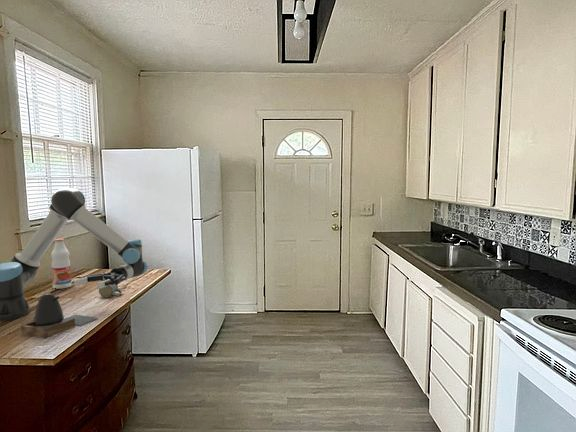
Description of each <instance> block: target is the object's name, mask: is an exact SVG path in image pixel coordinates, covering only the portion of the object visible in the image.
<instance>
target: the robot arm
mask: <svg viewBox="0 0 576 432" xmlns="http://www.w3.org/2000/svg"><path fill="white" fill-rule="evenodd" d="M50 200H51V204H50V205H49V211H50V212H49V213H48V214H47V216H46V217H45V218H44V220H43V221H42V223H41V224H40V225H39V227H38V228H37V230H36V231H35V232H34V233H33V235H32V237H31V238H30V239H29V241H28V242H27V243H26V246H25V247H24V248H23V249H22V251H21V252H17V253H15V255H14V256H13V258H12V259H10V261H8V262H2V263H0V322H5V321H6V320H7V321H12V320H16V319H20V318H23V317H25V316H27V315H29V314H30V306H29V303H28V302H27V300H26V298H25V294H24V293H25V292H24V285H26V284H27V283H29V282H30V281H32V280H33V279H34V278H35V276H36V274H37V271H38V270H39V268H40V266H41V262H40V261H41V259H42V258H43V257H44V255H45V253H46V252H47V250H48V249H49V248H50V246H51V245H52V244H53V242H55V239H57V236H58V235H60V232H61V231H62V229H63V228H64V227H65V225H66V223H68V221H74V222H75V223H77V224H78V225H79V226H80V227H82V228H83V229H84V230H86V231H87V232H88V233H90V234H91V235H92V236H93V237H94V238H96V239H97V240H99V241H100V242H102V244H104V245H105V246H107V247H108V248H109V249H111V250H112V251H113V252H114V253H116V254H117V255H118V256H120V257H121V258H122V261H123V262H125V264H124V265H119V266H115V267H113V268H112V269H111V270H110V272H106V273H105V272H104V271H103V272H99V273H94V274H88V275H84V276H82V277H81V278H78V279H75V280H73V283H74V287H78V286H81V285H87V284H88V283H90V282H97V283H96V284H97V290H99V289H100V288H103V287H106V286H109V285H114V284H115V285H119V284H121V283H122V282H124V281H126V282H127V281H128V280H130V279H132V278H137V277H140V276H142V275H143V274H145V273H146V272H147V271H148V264H147V262H146V261H145V260H143V244H142V240H141V239H140V238H139V239H138V238H136V239H128V240H127V239H125V238H124V237H123V236H121V235H120V234H119V233H118V232H117V231H115V230H114V229H112V228H111V227H110V226H109V225H107V224H106V223H105V222H104V221H103V220H101V219H100V218H99V217H97V216H96V215H95V214H93V212H91V211H89V210H88V209H87V208H86V207H87V206H86V197H85V195H84V193H83V192H82V191H81V190H79V189H77V188H73V187H68V188H60V189H58V190H56V191H54V193H53V195H52V196H51V199H50ZM7 321H6V322H7Z"/></svg>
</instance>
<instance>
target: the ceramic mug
mask: <svg viewBox="0 0 576 432" xmlns="http://www.w3.org/2000/svg"><path fill="white" fill-rule="evenodd" d="M118 285H119V284H118ZM118 285H115V284H114V285H109V286H106V287H103V288H100V289H98V294H99V295H100V297H103V298H109V297H110V296H116V297H119V296H121V295H122V293H123V291H122V290H121V289H120V288H119V287H118Z"/></svg>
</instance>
